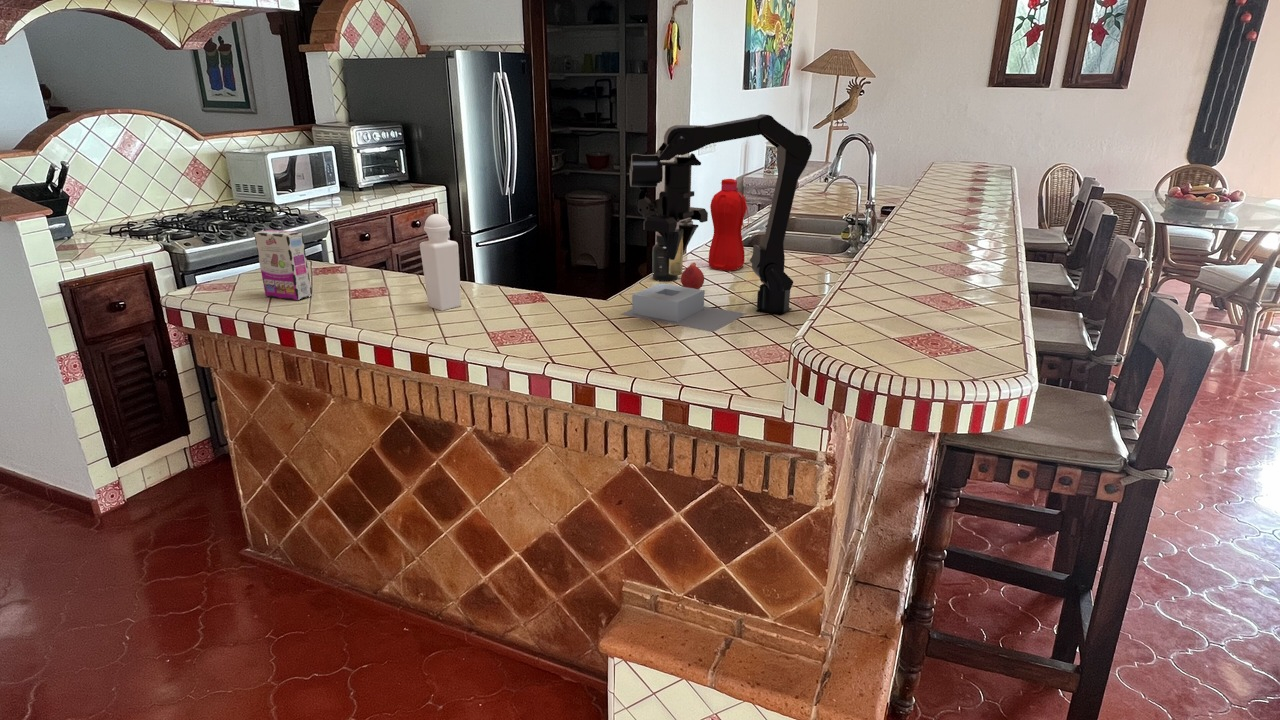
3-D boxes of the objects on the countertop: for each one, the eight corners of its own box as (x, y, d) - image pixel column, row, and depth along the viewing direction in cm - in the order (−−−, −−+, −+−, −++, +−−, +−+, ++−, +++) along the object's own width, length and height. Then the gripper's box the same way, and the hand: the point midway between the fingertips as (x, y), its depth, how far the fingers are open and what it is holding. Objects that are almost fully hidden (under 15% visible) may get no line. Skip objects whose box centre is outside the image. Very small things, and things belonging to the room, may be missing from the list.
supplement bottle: (647, 279, 201) (647, 235, 197) (661, 274, 207) (661, 231, 203) (668, 282, 198) (669, 238, 194) (682, 277, 203) (683, 234, 199)
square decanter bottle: (464, 306, 178) (456, 213, 170) (440, 312, 173) (431, 217, 166) (449, 301, 182) (440, 210, 174) (425, 306, 177) (415, 214, 170)
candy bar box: (313, 296, 187) (303, 231, 181) (298, 301, 182) (287, 235, 177) (280, 292, 191) (269, 228, 185) (264, 297, 186) (252, 231, 181)
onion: (695, 297, 184) (696, 266, 181) (676, 294, 187) (676, 263, 184) (708, 292, 188) (708, 261, 185) (689, 289, 191) (689, 259, 188)
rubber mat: (746, 315, 169) (746, 313, 169) (713, 334, 157) (713, 331, 156) (657, 300, 182) (657, 298, 181) (620, 316, 169) (620, 314, 169)
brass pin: (684, 273, 167) (686, 228, 163) (678, 275, 164) (679, 230, 161) (673, 271, 168) (674, 227, 165) (666, 274, 166) (667, 229, 162)
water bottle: (739, 273, 207) (743, 182, 198) (704, 268, 213) (706, 179, 204) (753, 267, 214) (757, 178, 206) (719, 262, 220) (722, 176, 211)
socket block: (703, 308, 173) (704, 290, 171) (677, 321, 163) (677, 302, 162) (660, 301, 179) (660, 283, 177) (632, 313, 170) (632, 294, 168)
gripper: (667, 180, 171) (665, 247, 176) (622, 188, 156) (622, 261, 161) (710, 183, 165) (707, 252, 171) (668, 192, 151) (666, 267, 156)
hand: (675, 258), depth 165 cm, fingers closed on brass pin, 3 cm apart
